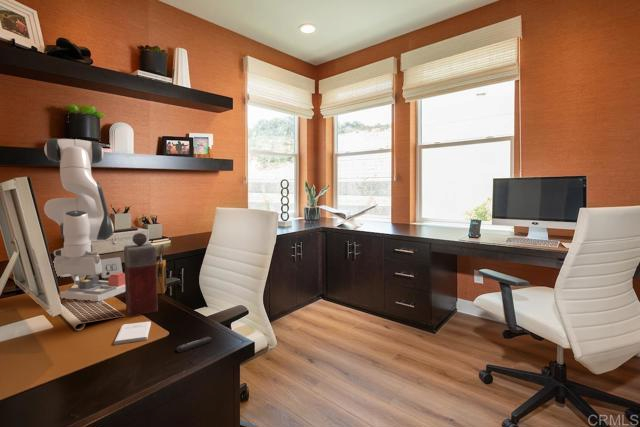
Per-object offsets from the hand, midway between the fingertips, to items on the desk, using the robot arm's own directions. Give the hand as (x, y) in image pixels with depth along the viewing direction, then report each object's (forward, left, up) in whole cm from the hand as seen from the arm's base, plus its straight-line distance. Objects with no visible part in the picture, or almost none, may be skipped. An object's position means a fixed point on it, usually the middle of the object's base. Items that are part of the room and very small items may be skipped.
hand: (79, 284), depth 136 cm
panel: (+5, +4, -4) cm, 8 cm away
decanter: (+36, -8, -5) cm, 37 cm away
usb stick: (+71, -29, -5) cm, 77 cm away
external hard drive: (+49, -26, -5) cm, 56 cm away
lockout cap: (+10, +9, -2) cm, 14 cm away
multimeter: (+26, +10, -5) cm, 28 cm away
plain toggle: (-1, +7, -2) cm, 7 cm away
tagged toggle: (+3, 0, -2) cm, 4 cm away
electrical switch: (-13, +28, -5) cm, 31 cm away
